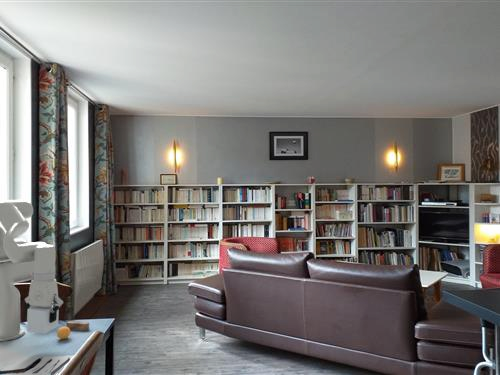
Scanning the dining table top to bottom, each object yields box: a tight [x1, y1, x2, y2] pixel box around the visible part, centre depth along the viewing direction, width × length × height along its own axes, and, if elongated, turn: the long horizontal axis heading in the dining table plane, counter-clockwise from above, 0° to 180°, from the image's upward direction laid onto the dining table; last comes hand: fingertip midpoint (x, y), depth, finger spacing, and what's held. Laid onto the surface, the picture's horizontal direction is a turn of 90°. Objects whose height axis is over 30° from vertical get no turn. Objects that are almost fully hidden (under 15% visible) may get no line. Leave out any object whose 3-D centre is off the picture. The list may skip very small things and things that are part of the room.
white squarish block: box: [26, 306, 60, 335], centre depth 150 cm, size 8×8×9 cm
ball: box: [56, 326, 71, 340], centre depth 160 cm, size 5×5×5 cm
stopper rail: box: [65, 320, 90, 331], centre depth 171 cm, size 10×2×3 cm, turn 78°
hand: (43, 320), depth 151 cm, fingers closed on white squarish block, 7 cm apart
